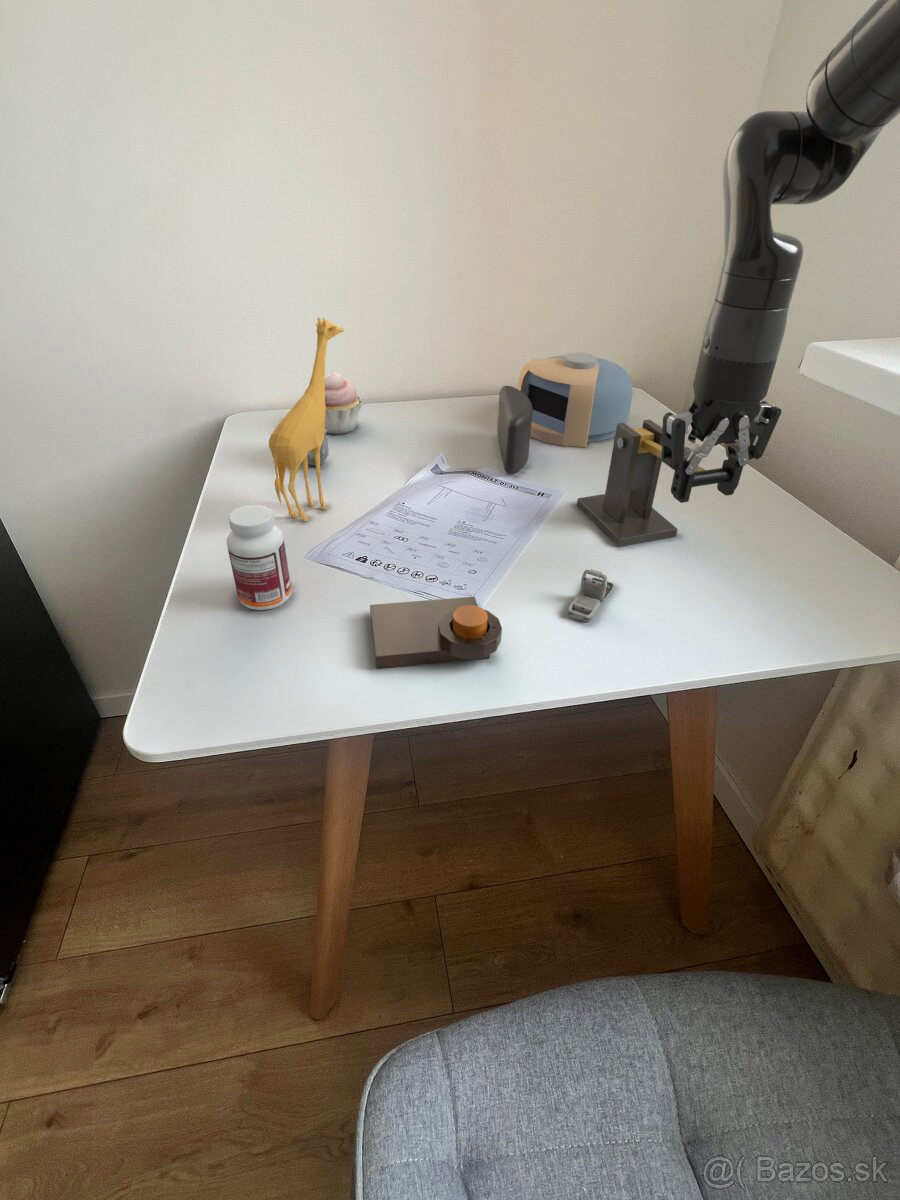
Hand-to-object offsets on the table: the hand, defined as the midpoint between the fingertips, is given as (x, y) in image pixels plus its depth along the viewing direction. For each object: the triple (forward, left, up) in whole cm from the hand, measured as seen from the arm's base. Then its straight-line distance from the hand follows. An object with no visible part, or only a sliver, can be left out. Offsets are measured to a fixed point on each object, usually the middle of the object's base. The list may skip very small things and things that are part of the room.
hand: (702, 495), depth 81 cm
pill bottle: (+52, -2, -11) cm, 53 cm away
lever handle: (+1, -7, 0) cm, 7 cm away
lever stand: (+3, -14, -11) cm, 18 cm away
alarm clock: (0, -49, -11) cm, 50 cm away
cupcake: (+42, -52, -11) cm, 67 cm away
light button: (+30, +11, -8) cm, 32 cm away
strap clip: (+14, +4, -11) cm, 18 cm away
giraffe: (+45, -23, -11) cm, 52 cm away
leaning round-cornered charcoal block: (+15, -37, -11) cm, 41 cm away
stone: (+46, -38, -11) cm, 60 cm away
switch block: (+33, +9, -11) cm, 36 cm away
